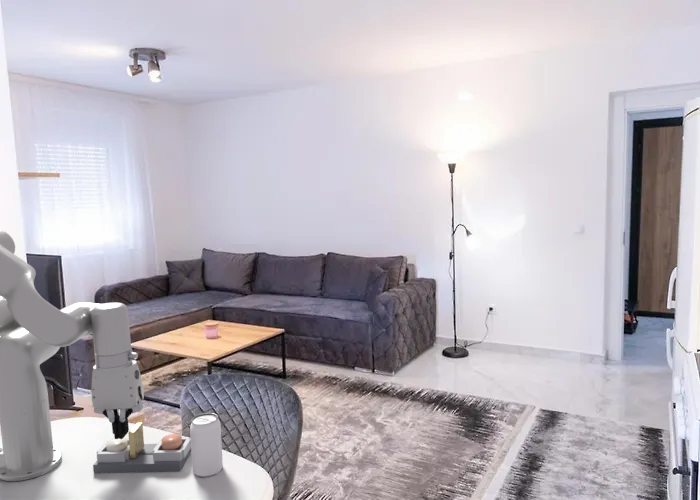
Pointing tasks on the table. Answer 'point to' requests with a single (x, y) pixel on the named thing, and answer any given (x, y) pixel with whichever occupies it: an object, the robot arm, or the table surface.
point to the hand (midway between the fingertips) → (121, 436)
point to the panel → (142, 459)
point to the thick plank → (136, 440)
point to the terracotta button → (172, 442)
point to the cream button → (117, 445)
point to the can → (206, 445)
